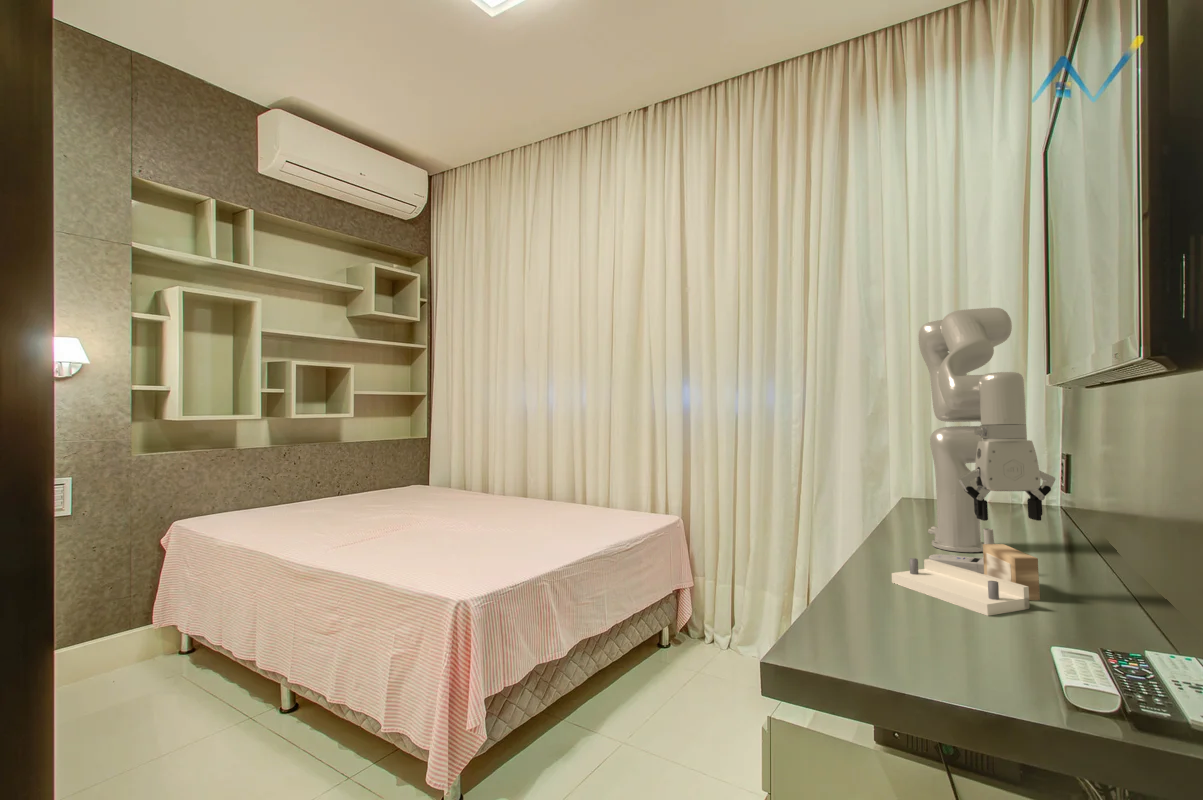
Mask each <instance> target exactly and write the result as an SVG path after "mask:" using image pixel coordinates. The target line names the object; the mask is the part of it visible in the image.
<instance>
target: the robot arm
mask: <svg viewBox="0 0 1203 800" xmlns="http://www.w3.org/2000/svg"><path fill="white" fill-rule="evenodd" d="M1012 330H1013V323H1012V319H1011V317H1010V314H1009V313H1008V312H1007V311H1006V310H1005V309H1003V308H1000V307H985V308H970V309H959V310H954V311H952V312H949V313H948V314H946V315H945V316H944V317H943V319H940V320H932V321H930V322H927V323H925V324H923V325H922V326H921V327H920V328H919V331H918V347H919V350H920V353H921V357H922V359H923V361H924V363H925V366H926V367H927V369H928V372H929V378H930V388H931V389H930V391H931V398H932V400H931V401H932V406H933V407H932V408H933V413H934V416H935V417H936V419H937V420H938V421H942V422H945V423H946V422H947V423H948V422H949V423H965V422H966V423H967V422H968V423H971V422H975V423H976V422H977V423H978V422H980V425H976V426H975V425H974V426H973V425H966V426H965V425H963V426H962V425H961V426H960V425H959V426H957V425H956V426H955V425H954V426H951V425H950V426H945V427H944V426H943V427H940V428H937V429H935V430H934V431H933V432H932V433H931V435H930V438H929V442H930V443H929V444H930V450H931V454H932V459H933V465H934V475H935V489H936V490H935V491H936V511H937V512H936V513H937V514H936V517H937V526H931V527H930V528H928V530H927V533H928V534H931V535H934V539H932V540H931V546H932V547H934V548H936V549H940V550H944V551H949V552H957V553H983V544H984V543H985V542H983V541H982V539H981V538H982V537H981V521H988V520H989V513H988V510H989V509H988V501H987V500H985V498H986V497H987V496H988V495H989V494H990V492H991V491H992V492H1025V493H1026V494H1027V496H1029V498H1027V501H1026V502H1027V517H1028V519H1030V520H1034V521H1037V522H1038V521H1039V522H1040V521H1042V516H1043V500H1045V498H1046V496H1047V495H1048V494H1049V493H1050V492H1051V491H1052V487H1053V486H1054V484H1055V482H1056V478H1055V476H1053V475H1050V474H1048V473H1046V472H1044V471H1041V470H1040V468H1039V461H1038V456H1037V452H1036V449H1035V445H1034V442H1033V440H1028V432H1027V431H1028V430H1027V429H1028V428H1027V416H1026V412H1027V411H1026V397H1025V382H1024V377H1023V375H1022V374H1021V373H1020V372H1017V371H1001V372H998V371H997V372H989V373H985V374H967V373H970V372H972V371H975V370H979V368H982V367H984V366H985V365H987V363H988V364H989V362H990V361H991V360H992V358H993V356H994V353H995V349H994V348H995V347H997V346H999V345H1002V344H1003V343H1005V342H1006V341H1008V339H1009V338H1010V336H1011V333H1012ZM967 464H975V466H974V467H975V469H973V470H970V469H969V467H967ZM1041 480H1042V483H1041Z"/></svg>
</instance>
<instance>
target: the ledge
mask: <svg viewBox="0 0 1203 800" xmlns="http://www.w3.org/2000/svg"><path fill="white" fill-rule="evenodd" d="M891 583H892V584H894V583H895V585H897V584H898V585H899V586H901V587H904V588H906V589H910V590H912V591H915V592H918V593H920V594H923V595H927V596H929V597H932V598H935V599H938V600H941V601H944V602H947V603H950V604H953V605H956V606H958V607H961V608H964V609H966V610H969V611H972V612H976V613H979V614H982V615H984V616H987V617H988V616H995V615H1000V614H1007V613H1013V612H1018V611H1025V610H1029V609H1030V600H1029V587H1028V586H1025V585H1021V584H1017V583H1014V582H1010V581H1006V580H1003V579H999V578H996V577H992V576H988V575H985V574H981V573H977V572H974V571H970V570H967V569H963V568H959V567H956V566H952V565H948V564H945V563H941V562H937V561H934V560H930V559H929V558H926V559H925V558H924V559H923V568H919V559H918V558H909V570H905V571H904V570H903V571H897V572H891ZM898 585H897V586H898Z"/></svg>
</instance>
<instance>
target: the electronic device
mask: <svg viewBox="0 0 1203 800" xmlns="http://www.w3.org/2000/svg"><path fill="white" fill-rule="evenodd" d="M994 537H995V536H994V529H993V528H983V541H984V544H996V543H995V540H994V539H995V538H994ZM928 559H930V560H934V561H937V562H941V563H945V564H948V565H952V566H956V567H959V568H963V569H967V570H970V571H974V572H977V573H981V574H984V558H983V556H982V557H973V556H963V555H962V556H961V555H954V554H953V555H952V554H941V553H940V554H939V553H938V554H935V553H934V554H931V555H929V557H928Z"/></svg>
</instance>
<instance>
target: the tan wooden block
mask: <svg viewBox="0 0 1203 800" xmlns="http://www.w3.org/2000/svg"><path fill="white" fill-rule="evenodd" d="M982 554H983V555H982V557H983V558H984V574H985V575H988V576H992V577H996V578H999V579H1003V580H1006V581H1010V582H1014V583H1017V584H1021V585H1025V586H1028V587H1029V601H1041V596H1040V577H1039V576H1040V575H1039V558H1038V557H1035V556H1032V555H1030V554H1029V553H1025V552H1023V551H1021V550H1018V549H1016V548H1015V547H1014V548H1013V547H1011V546H1009V545H1006V544H1004V543H995V544H983V552H982Z"/></svg>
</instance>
